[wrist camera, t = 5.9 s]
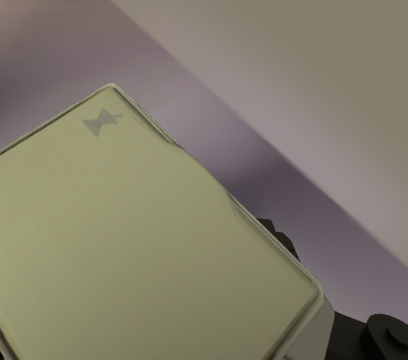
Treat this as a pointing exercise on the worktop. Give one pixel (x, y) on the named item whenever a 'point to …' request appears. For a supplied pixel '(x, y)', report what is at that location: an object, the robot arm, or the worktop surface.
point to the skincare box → (135, 249)
